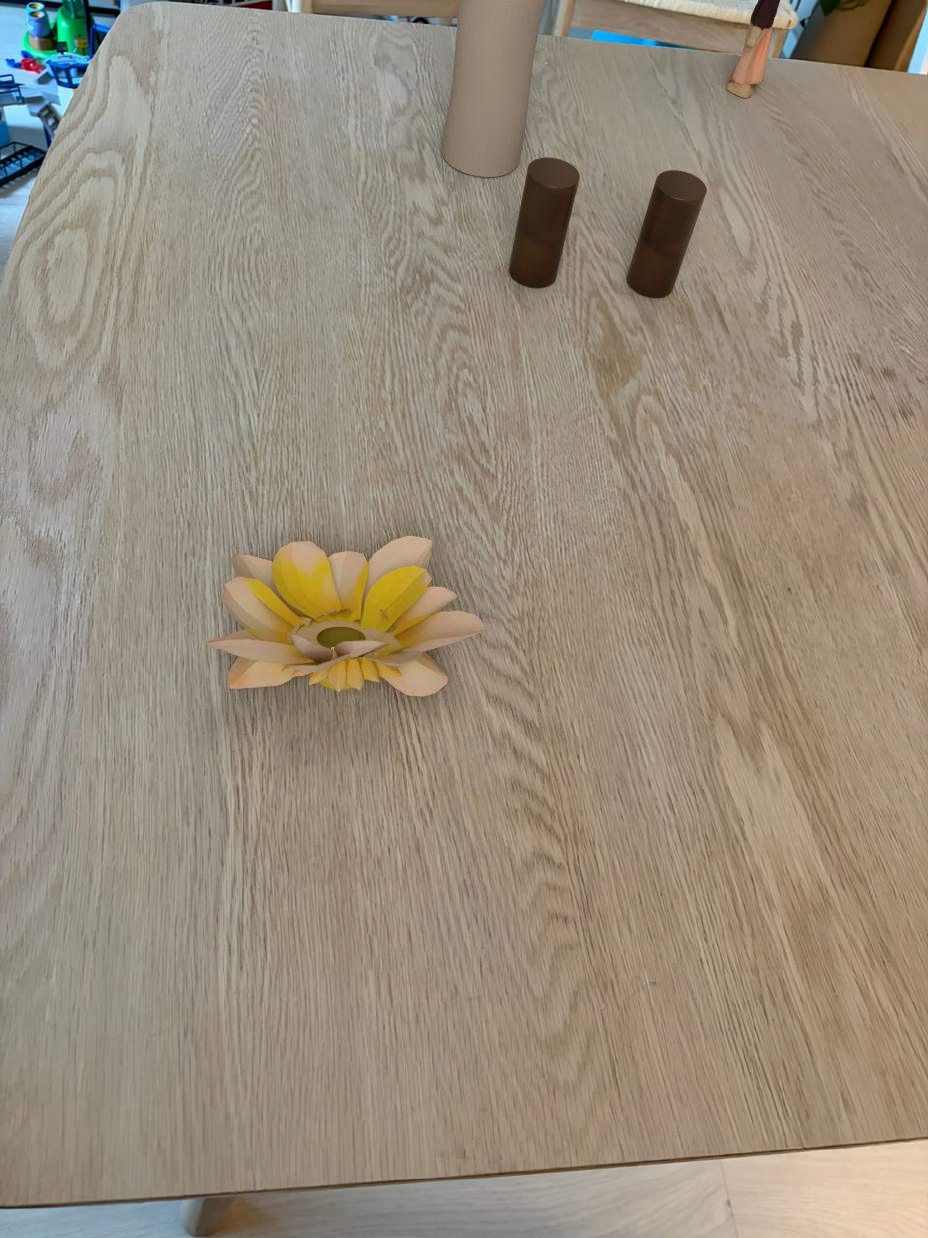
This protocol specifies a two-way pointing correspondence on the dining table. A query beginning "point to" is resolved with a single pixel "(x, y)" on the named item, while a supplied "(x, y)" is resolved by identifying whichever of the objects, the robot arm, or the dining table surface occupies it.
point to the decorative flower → (341, 618)
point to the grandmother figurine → (754, 49)
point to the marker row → (550, 216)
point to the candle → (491, 85)
